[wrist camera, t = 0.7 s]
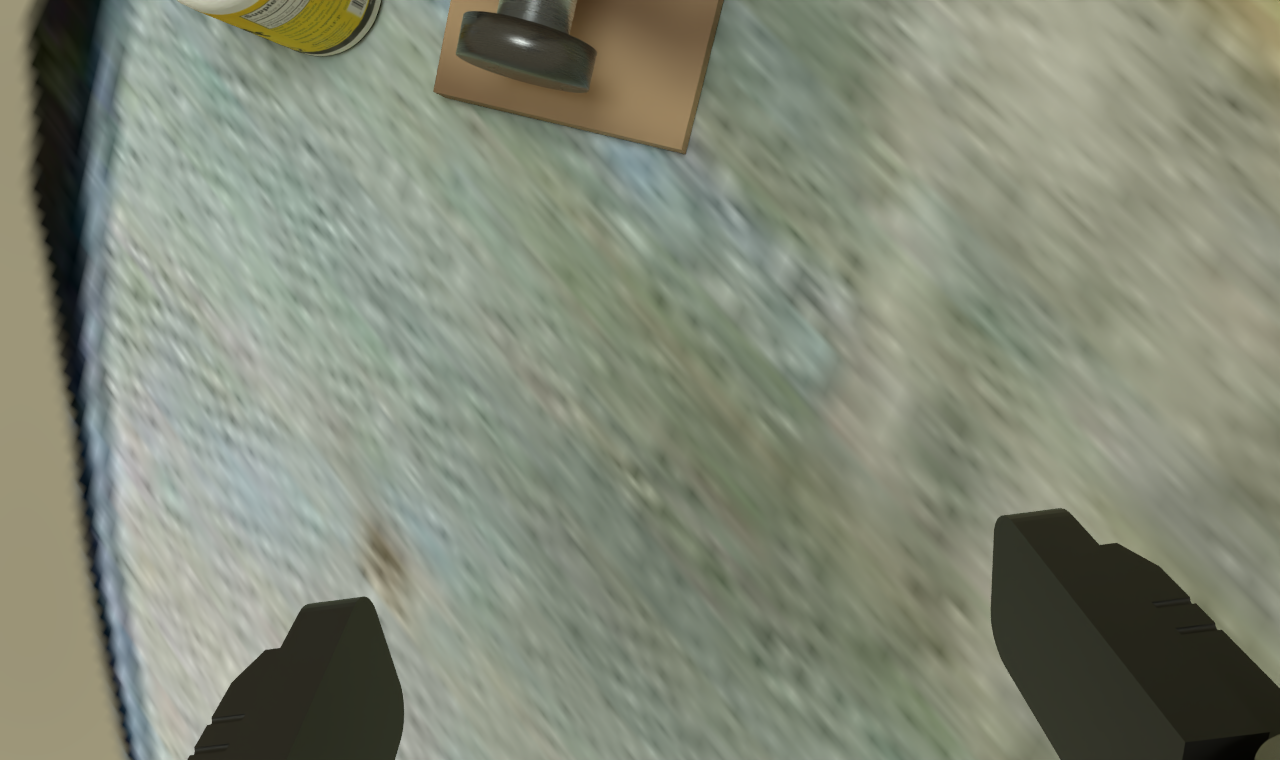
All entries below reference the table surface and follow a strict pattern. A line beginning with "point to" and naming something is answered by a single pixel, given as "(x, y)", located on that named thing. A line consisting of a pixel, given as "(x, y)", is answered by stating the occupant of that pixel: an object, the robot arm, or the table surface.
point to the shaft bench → (605, 70)
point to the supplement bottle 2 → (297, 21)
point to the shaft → (529, 44)
